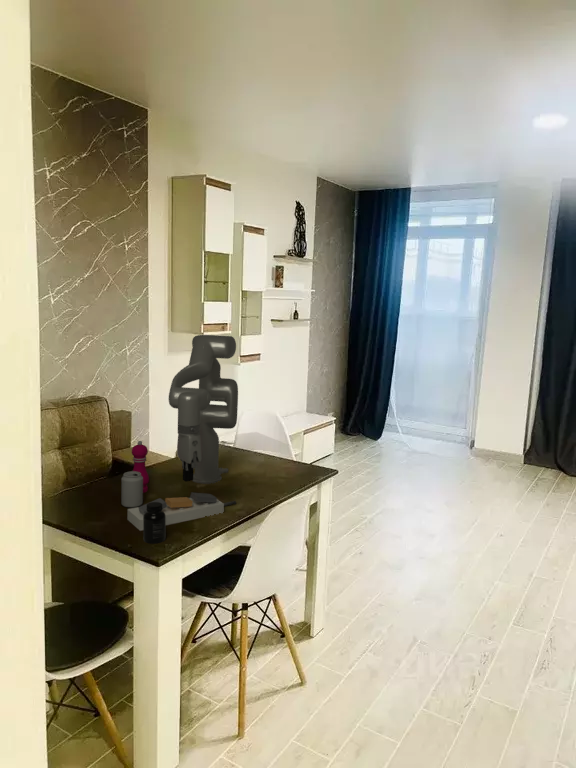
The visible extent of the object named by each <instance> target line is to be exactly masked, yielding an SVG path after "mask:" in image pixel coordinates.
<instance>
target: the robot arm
mask: <svg viewBox="0 0 576 768" xmlns="http://www.w3.org/2000/svg"><path fill="white" fill-rule="evenodd" d="M191 345H192V348H191V353H190V356H189V360H188V361H189V363H188V365H186V366H185V367H183V368H182V369H180V370H179V371H178V372H177V373H176V374H175V375H174V377H173V379H172V380H171V384H170V388H169V393H168V403H169V406H170V407H171V408H173V409H177V434H178V435H177V443H176V445H177V447H176V452H177V454H176V455H177V457H178V458H179V460H180V461H181V464H182V481H183V482H185V483H186V482H191V481H192V482H193V483H197V484H205V485H210V484H211V483H212V484H216V482H217V483H219V482H221V481H222V479H223V478H222V474H227V473H229V468H228V467H226V468H225V467H224V468H223V467H219V450H220V449H219V448H220V446H219V445H220V438H219V435H218V433H217V432H216V430H215V429H225V430H227V429H228V430H230V429H234V428H235V427H236V425H237V422H238V409H239V407H238V406H239V403H238V402H239V385H238V382H237V381H236V380H235V379H233V378H223V377H221V370H222V369H221V364H220V362H219V360H218V359H225V360H226V359H227V360H228V359H231V358H233V357H234V356H235V354H236V350H237V343H236V340H235V337H234V336H232V335H214V334H198V335H195V336H193V338H192V340H191ZM195 381H198V388H197V387H185V385H187V384H189V383H192V382H195ZM211 402H219V403H221V402H223V403H225V404H211ZM220 480H221V481H220ZM218 481H219V482H218ZM212 484H211V485H212Z"/></svg>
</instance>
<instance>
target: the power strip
mask: <svg viewBox="0 0 576 768" xmlns="http://www.w3.org/2000/svg"><path fill="white" fill-rule="evenodd" d="M188 498H189V499H190V500H192V501H193V502H192V506H189V507H172V508H171V507H169V506H168V505H167V504H166V505H167V507H166V508H163V510H162V511H163V512H164V513H165V515H166V526H169V525H175V524H179V523H183V522H187V521H193V520H197V519H201V518H206V517H205V516H207V517H211V516H215V515H214V514H216V515H219V513H221V514H224V513H223V512H224V511H225V509H224V508H225V507H227V506H228V505H229V506H233V505H232V504H234V505H236V504H237V501H236V500H233V501H228V502H222V501H220V500H219V499H217V500H216V503H210V502H197V501H195V500H193V499H192V498H190V497H188ZM138 507H139V506H138ZM138 507H135V508H127V518H126V519H127V521H128V522H129V523H131V524H132V525H133V526H134V527H135V528H136V529H137V530H139V531H140V532H141V531H143V516H144V515H142V514H141V513H140V512H139V508H138ZM210 515H211V516H210Z"/></svg>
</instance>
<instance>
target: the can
mask: <svg viewBox="0 0 576 768" xmlns="http://www.w3.org/2000/svg"><path fill="white" fill-rule="evenodd" d="M120 482H121V486H120V487H121V493H120V494H121V497H120V499H121V505H122V506H123V507H125V508H127V509H131V508H137V507H140V506H142V505H143V503H144V501H143V500H144V493H143V477H142V476H141V473H140V472H136V471H133V470H131V471H127V472H124V473H123V475H122V477H121V481H120Z"/></svg>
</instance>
